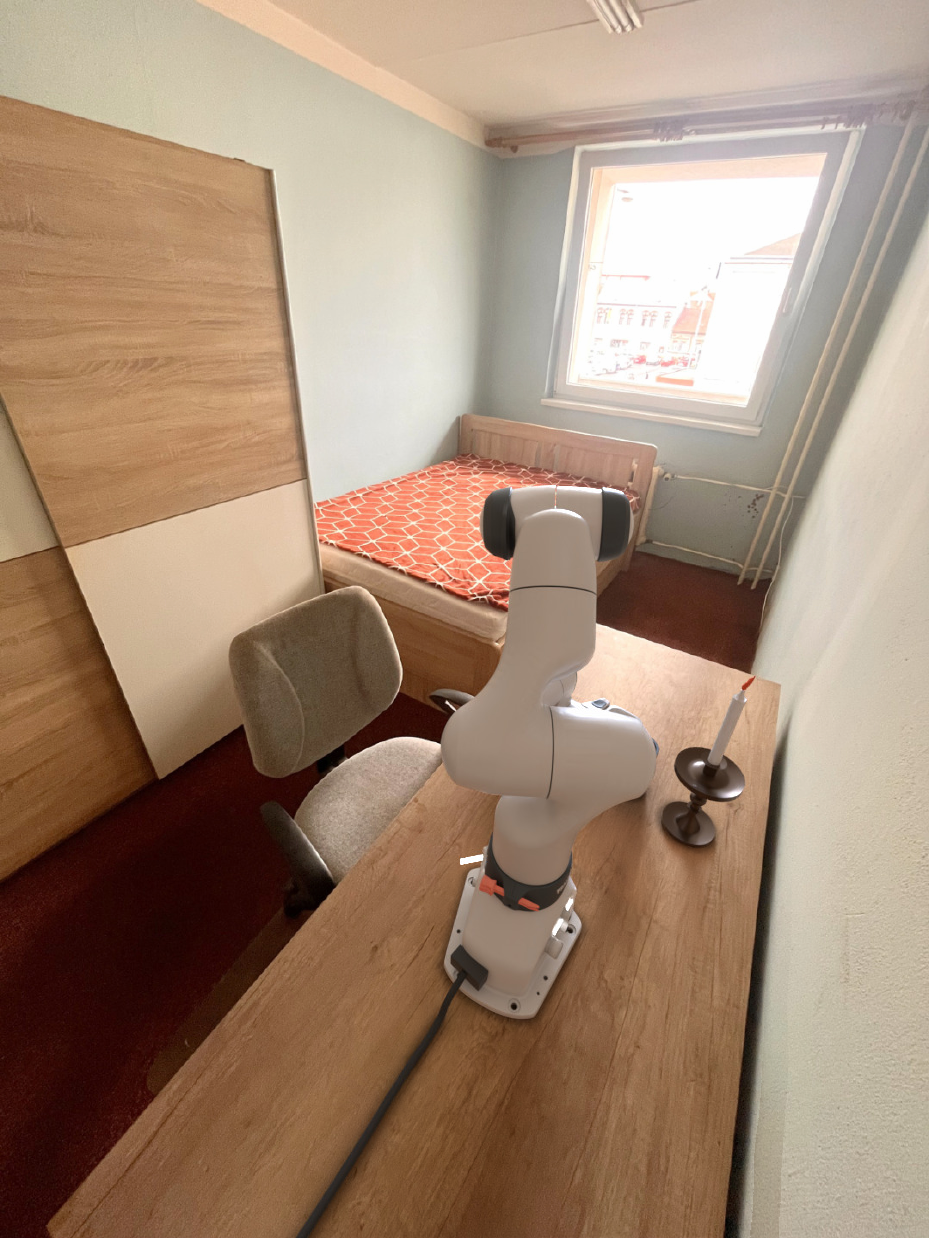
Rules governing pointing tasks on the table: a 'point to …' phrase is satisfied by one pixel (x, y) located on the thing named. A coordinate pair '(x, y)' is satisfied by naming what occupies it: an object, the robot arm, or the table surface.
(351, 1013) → the table surface
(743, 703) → the candlestick
